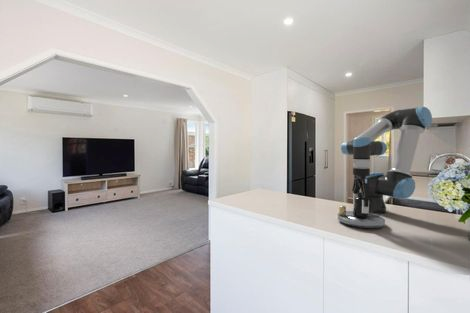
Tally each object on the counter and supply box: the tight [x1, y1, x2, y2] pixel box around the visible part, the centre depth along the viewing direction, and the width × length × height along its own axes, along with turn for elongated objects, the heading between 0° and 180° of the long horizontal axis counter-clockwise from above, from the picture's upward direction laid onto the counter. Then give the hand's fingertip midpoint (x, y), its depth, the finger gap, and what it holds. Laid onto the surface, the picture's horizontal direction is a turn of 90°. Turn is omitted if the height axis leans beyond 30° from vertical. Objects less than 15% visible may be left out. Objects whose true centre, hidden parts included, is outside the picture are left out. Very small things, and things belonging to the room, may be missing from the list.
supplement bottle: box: [352, 191, 370, 218], centre depth 114 cm, size 7×7×12 cm
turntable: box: [337, 205, 386, 229], centre depth 114 cm, size 21×21×7 cm
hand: (360, 209), depth 114 cm, fingers open, 13 cm apart
